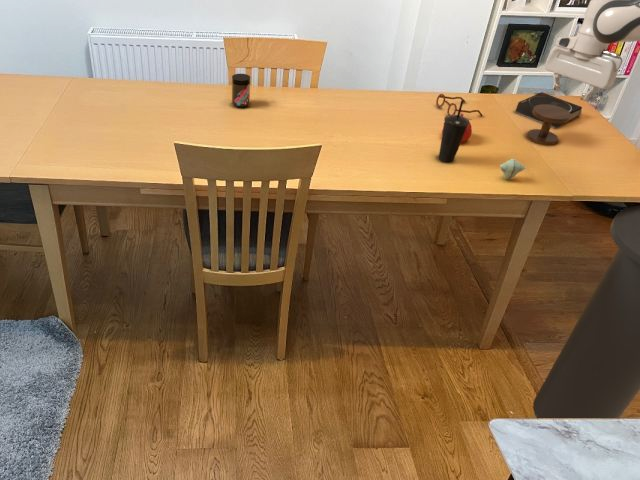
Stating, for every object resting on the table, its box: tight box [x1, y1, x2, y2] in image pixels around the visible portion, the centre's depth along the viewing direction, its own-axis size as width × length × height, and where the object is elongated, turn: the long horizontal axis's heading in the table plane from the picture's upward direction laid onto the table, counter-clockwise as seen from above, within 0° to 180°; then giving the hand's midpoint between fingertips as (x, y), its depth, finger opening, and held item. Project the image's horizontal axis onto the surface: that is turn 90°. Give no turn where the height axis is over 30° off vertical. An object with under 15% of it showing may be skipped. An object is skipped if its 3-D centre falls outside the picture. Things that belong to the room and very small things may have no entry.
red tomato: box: [441, 113, 473, 143], centre depth 200 cm, size 10×10×9 cm
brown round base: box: [526, 104, 571, 146], centre depth 202 cm, size 12×12×10 cm
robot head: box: [499, 158, 527, 181], centre depth 181 cm, size 8×4×7 cm, turn 88°
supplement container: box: [231, 73, 251, 109], centre depth 214 cm, size 7×7×10 cm
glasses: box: [435, 93, 483, 117], centre depth 219 cm, size 13×13×5 cm
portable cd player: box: [514, 91, 583, 129], centre depth 219 cm, size 16×17×4 cm
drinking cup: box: [438, 99, 470, 164], centre depth 185 cm, size 8×8×20 cm
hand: (569, 95), depth 172 cm, fingers open, 8 cm apart
